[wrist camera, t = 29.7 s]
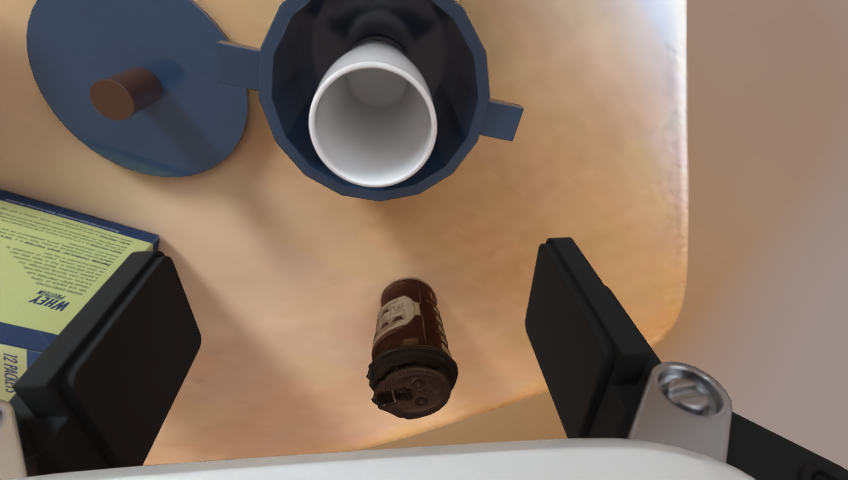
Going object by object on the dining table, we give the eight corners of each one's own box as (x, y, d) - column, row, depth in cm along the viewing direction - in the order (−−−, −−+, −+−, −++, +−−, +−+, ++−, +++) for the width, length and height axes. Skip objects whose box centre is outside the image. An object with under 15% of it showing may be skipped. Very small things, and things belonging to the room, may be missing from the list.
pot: (252, -70, 29) (206, -83, 22) (521, 1, 33) (562, 11, 25) (251, 132, 37) (216, 175, 29) (470, 172, 40) (489, 219, 33)
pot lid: (10, -60, 29) (-64, -66, 24) (252, -3, 31) (228, 2, 27) (61, 155, 37) (14, 183, 32) (250, 185, 39) (232, 215, 35)
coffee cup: (355, 309, 49) (347, 408, 38) (390, 257, 45) (392, 350, 34) (420, 334, 51) (430, 432, 41) (458, 287, 48) (479, 381, 37)
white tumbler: (385, 4, 32) (385, 28, 19) (435, 80, 35) (463, 143, 23) (317, 60, 34) (277, 116, 21) (371, 128, 37) (364, 211, 24)
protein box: (-30, 179, 37) (-256, 294, 24) (162, 233, 41) (59, 355, 28) (-20, 269, 42) (-202, 405, 29) (151, 309, 46) (59, 443, 33)
